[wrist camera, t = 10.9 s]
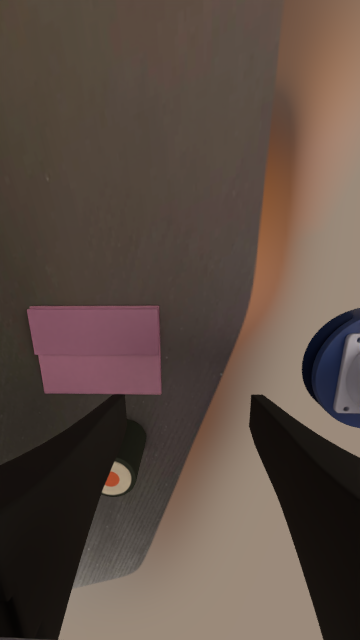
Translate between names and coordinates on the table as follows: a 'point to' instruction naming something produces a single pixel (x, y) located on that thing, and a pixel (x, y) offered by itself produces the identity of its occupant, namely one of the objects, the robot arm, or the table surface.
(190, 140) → the table surface
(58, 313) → the napkin
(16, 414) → the table surface
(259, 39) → the table surface
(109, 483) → the sushi roll
